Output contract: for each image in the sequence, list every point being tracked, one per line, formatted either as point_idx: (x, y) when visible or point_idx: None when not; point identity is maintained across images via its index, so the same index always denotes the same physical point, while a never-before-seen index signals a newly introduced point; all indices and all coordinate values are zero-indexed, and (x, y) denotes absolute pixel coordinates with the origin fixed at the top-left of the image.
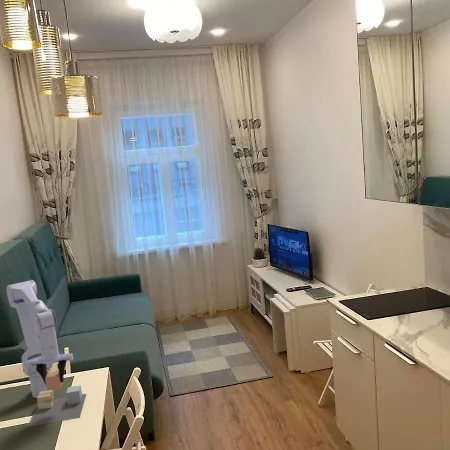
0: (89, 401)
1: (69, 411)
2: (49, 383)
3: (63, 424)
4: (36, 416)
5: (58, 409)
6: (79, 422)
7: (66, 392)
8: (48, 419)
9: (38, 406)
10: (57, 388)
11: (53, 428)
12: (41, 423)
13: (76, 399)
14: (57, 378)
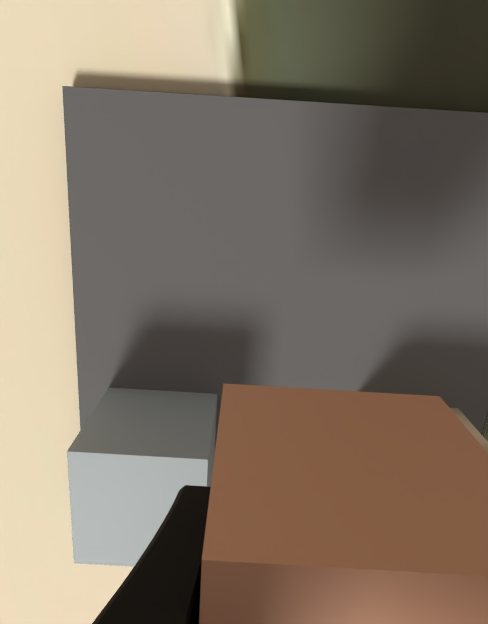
0: (49, 403)
1: (184, 261)
2: (428, 462)
3: (218, 58)
4: (476, 291)
5: (290, 343)
6: (65, 31)
7: (204, 468)
8: (365, 182)
9: (470, 422)
10: (272, 388)
11: (306, 13)
12: (427, 126)
13: (131, 407)
14: (246, 515)
